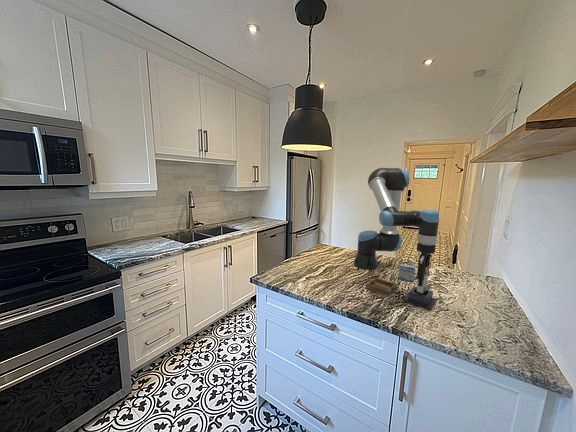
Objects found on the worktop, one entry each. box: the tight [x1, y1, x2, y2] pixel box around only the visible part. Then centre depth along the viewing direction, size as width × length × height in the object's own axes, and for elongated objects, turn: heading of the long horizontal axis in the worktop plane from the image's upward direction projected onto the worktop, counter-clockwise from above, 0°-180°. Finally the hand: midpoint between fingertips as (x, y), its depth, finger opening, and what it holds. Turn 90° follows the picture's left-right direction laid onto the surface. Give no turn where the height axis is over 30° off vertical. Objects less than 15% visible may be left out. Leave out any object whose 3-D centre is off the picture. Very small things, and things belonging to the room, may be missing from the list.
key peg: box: [416, 266, 430, 295], centre depth 117 cm, size 4×4×15 cm
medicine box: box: [397, 263, 416, 283], centre depth 143 cm, size 8×4×9 cm, turn 62°
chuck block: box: [402, 285, 438, 312], centre depth 118 cm, size 12×12×5 cm
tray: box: [365, 277, 398, 297], centre depth 131 cm, size 12×12×3 cm
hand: (421, 290), depth 118 cm, fingers closed on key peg, 4 cm apart
